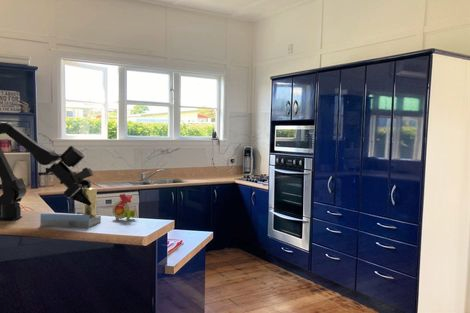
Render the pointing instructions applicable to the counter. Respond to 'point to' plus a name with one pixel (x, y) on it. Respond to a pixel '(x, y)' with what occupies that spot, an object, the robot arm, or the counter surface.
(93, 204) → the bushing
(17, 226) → the counter surface
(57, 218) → the jig
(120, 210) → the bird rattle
